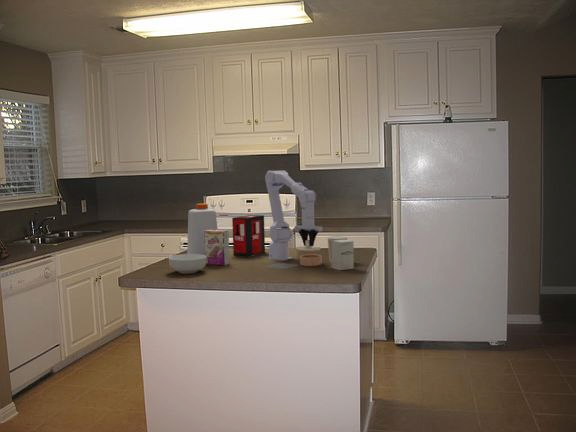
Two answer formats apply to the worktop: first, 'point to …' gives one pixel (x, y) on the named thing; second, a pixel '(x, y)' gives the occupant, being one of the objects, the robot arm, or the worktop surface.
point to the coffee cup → (331, 244)
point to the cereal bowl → (187, 263)
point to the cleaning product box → (248, 235)
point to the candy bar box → (216, 247)
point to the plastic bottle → (199, 227)
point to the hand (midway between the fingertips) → (308, 245)
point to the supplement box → (342, 254)
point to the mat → (281, 265)
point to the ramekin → (310, 260)
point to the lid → (308, 247)
